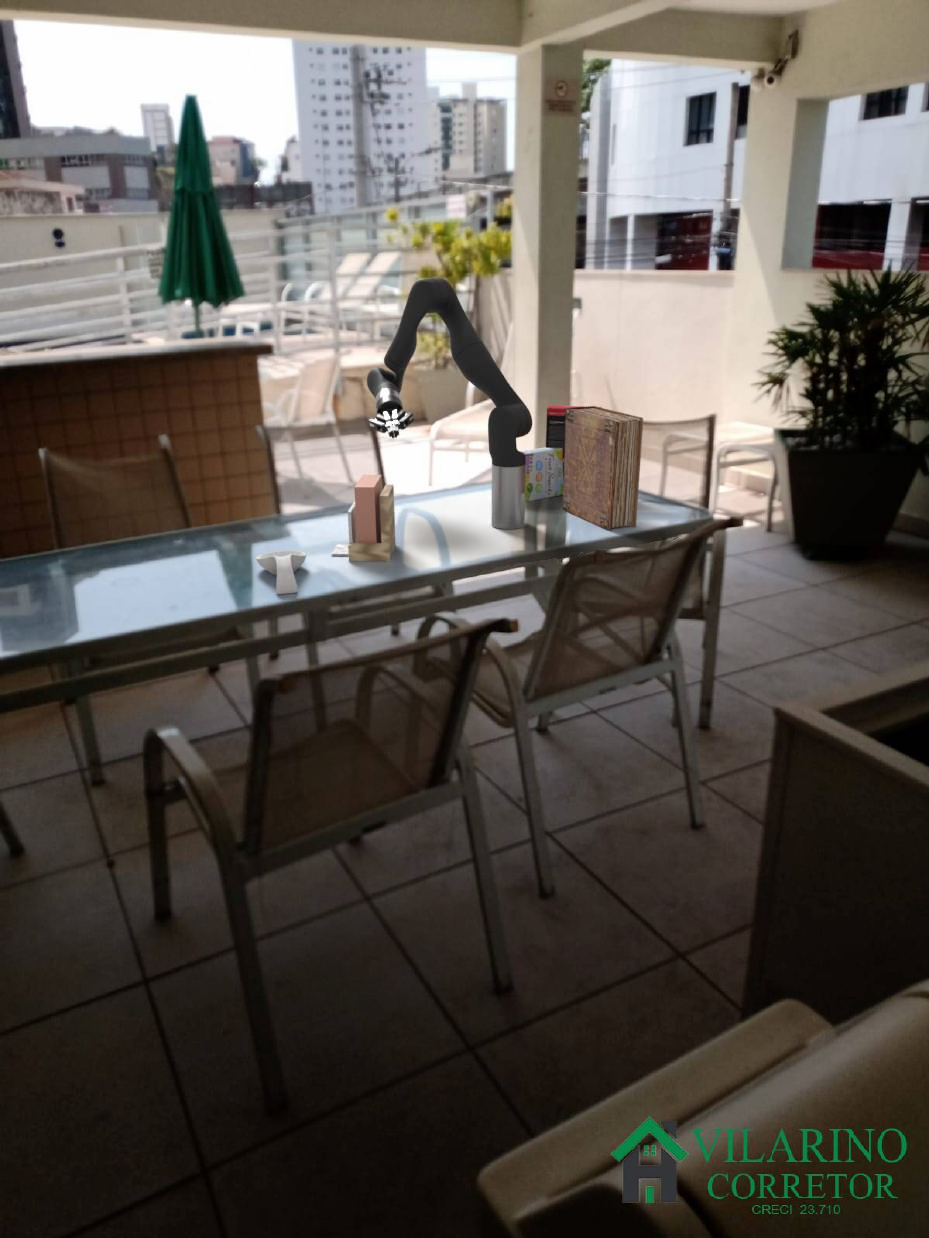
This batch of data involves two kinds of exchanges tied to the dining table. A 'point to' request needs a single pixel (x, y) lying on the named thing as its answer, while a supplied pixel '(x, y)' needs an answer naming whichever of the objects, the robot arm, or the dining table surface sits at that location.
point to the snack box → (543, 473)
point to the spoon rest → (283, 568)
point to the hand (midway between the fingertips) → (394, 434)
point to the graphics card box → (556, 428)
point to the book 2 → (602, 466)
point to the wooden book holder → (387, 533)
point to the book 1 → (368, 508)
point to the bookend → (343, 549)
